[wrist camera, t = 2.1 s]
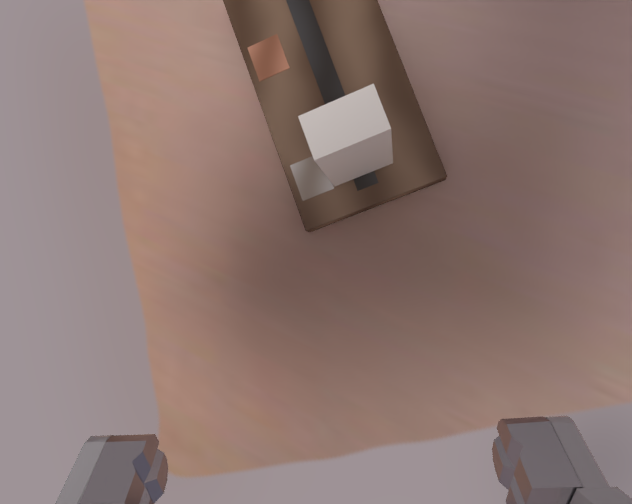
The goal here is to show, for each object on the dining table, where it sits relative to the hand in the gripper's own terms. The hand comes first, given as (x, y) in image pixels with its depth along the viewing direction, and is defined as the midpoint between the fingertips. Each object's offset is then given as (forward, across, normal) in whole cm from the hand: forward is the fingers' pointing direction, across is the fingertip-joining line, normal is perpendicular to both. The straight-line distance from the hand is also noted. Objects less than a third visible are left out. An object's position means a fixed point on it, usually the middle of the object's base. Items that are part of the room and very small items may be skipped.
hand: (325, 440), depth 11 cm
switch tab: (+28, -3, +4) cm, 28 cm away
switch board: (+34, -1, 0) cm, 34 cm away
